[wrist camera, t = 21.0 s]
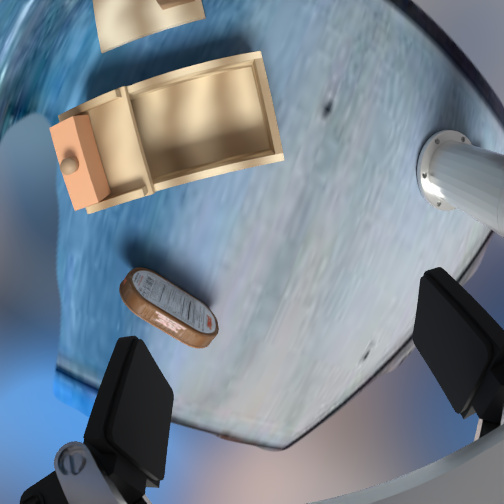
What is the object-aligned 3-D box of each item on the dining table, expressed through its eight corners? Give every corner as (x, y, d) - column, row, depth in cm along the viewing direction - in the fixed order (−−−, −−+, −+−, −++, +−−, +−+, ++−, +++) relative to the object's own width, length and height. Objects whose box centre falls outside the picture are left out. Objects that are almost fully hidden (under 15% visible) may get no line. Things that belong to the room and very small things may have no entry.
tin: (128, 270, 42) (109, 303, 34) (137, 254, 41) (119, 286, 33) (210, 322, 47) (208, 360, 39) (222, 309, 46) (221, 347, 38)
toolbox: (256, 60, 31) (263, 45, 23) (276, 153, 36) (288, 164, 28) (87, 112, 31) (54, 115, 24) (112, 196, 37) (85, 217, 29)
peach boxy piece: (88, 114, 25) (67, 116, 21) (111, 192, 29) (93, 206, 25) (66, 125, 26) (43, 129, 21) (88, 200, 30) (69, 214, 25)
